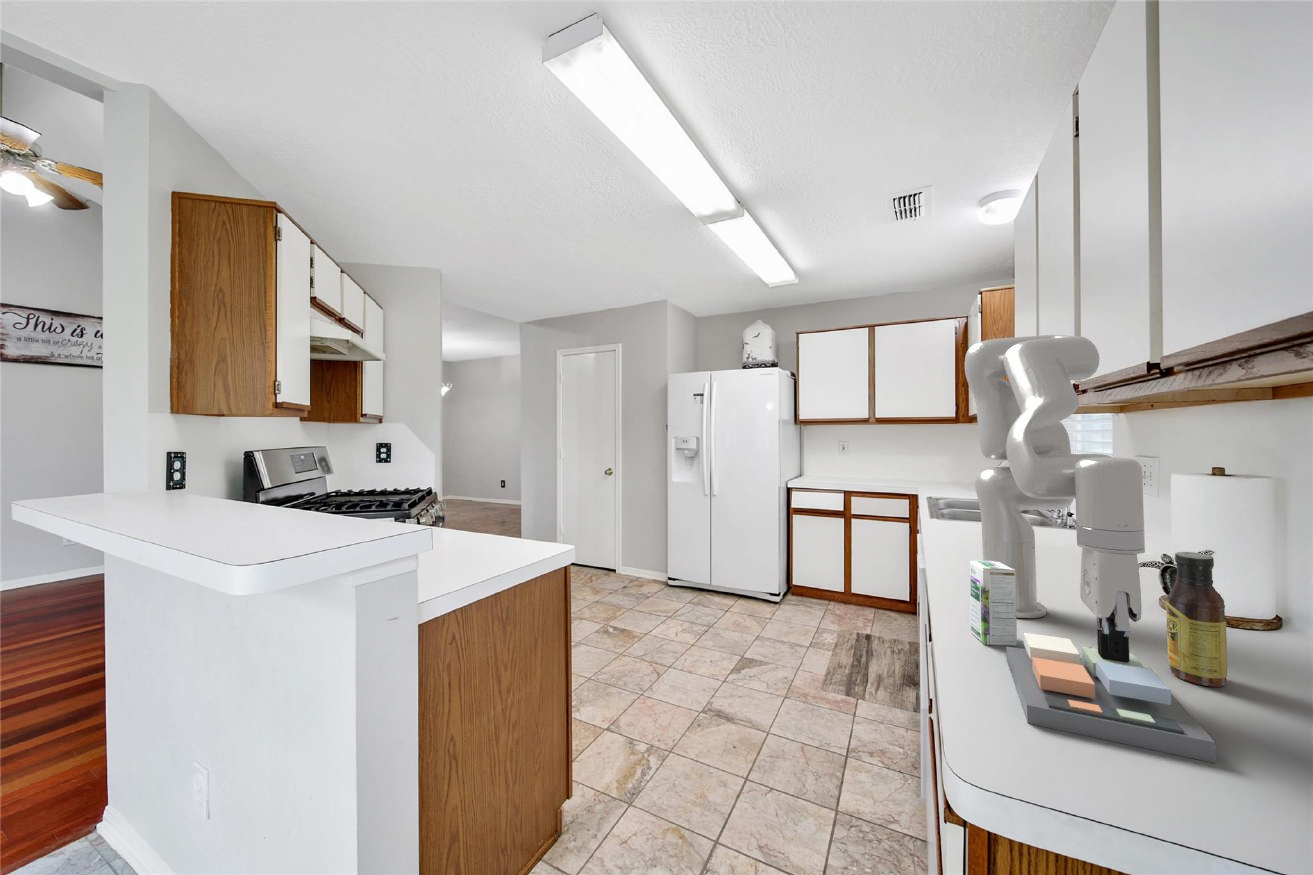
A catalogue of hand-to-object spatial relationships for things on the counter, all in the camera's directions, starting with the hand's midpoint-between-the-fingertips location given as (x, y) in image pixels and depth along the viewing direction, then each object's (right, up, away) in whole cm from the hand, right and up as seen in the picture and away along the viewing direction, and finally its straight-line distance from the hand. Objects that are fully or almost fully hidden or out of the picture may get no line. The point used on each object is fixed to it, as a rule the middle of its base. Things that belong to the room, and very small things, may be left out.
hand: (1113, 658), depth 73 cm
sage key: (0, -2, 0) cm, 2 cm away
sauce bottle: (+16, -5, +3) cm, 17 cm away
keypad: (-6, -5, -3) cm, 8 cm away
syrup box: (-5, -5, +19) cm, 20 cm away
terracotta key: (-10, -2, -3) cm, 11 cm away
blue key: (-4, -1, -6) cm, 7 cm away
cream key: (-6, -1, +4) cm, 8 cm away
